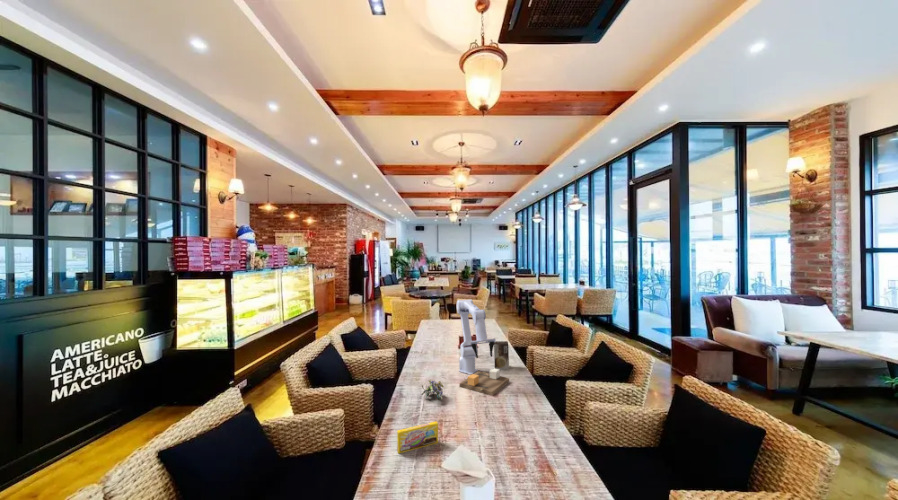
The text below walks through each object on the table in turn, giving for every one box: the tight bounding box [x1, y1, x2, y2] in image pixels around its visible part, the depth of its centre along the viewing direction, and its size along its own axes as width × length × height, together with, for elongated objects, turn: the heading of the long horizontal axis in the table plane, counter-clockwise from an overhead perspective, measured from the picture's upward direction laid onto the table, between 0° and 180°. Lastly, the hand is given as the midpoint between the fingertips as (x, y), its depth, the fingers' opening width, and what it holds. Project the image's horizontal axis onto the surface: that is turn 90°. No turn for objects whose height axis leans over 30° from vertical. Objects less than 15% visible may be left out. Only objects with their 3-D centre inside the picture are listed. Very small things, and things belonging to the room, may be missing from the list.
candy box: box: [396, 421, 439, 455], centre depth 126 cm, size 16×2×8 cm, turn 114°
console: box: [459, 370, 510, 397], centre depth 182 cm, size 20×23×2 cm
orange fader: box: [467, 373, 479, 386], centre depth 178 cm, size 4×5×4 cm
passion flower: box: [421, 379, 444, 401], centre depth 167 cm, size 11×11×12 cm
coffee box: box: [493, 340, 510, 370], centre depth 207 cm, size 9×6×16 cm
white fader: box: [489, 367, 501, 379], centre depth 186 cm, size 4×5×4 cm
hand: (484, 357), depth 177 cm, fingers open, 7 cm apart
